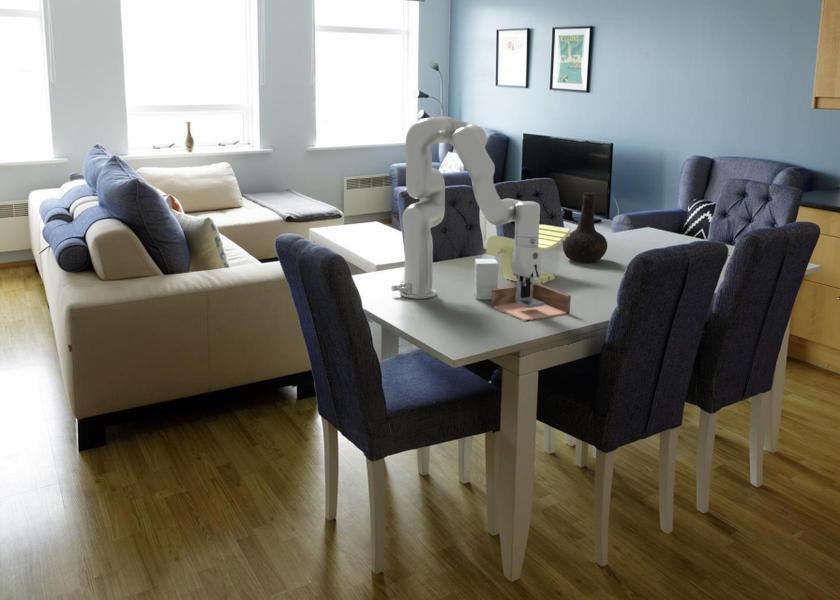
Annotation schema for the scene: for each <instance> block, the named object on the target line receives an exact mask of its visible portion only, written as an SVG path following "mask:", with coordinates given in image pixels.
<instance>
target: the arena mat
mask: <svg viewBox="0 0 840 600" xmlns="http://www.w3.org/2000/svg"><path fill="white" fill-rule="evenodd" d="M493 307H494V308H493ZM491 308H493V309H495V308H496V310H497V309H499V310H498V311H500V310H501V311H500V312H502V311H503V312H502V313H504V312H505V313H504V314H506V313H507V315H508V314H510V315H509V316H511V315H512V316H511V317H513V316H514V317H513V318H515V317H516V319H517V318H519V319H518V320H520V319H521V320H520V321H522V320H523V321H522V322H528V321H527V320H530V321H534V320H533V319H536V320H541V319H546V317H547V318H553V317H557V316H558V317H559V316H563V315H564V316H566V315H567V314H566V312H563V311H561V310H558V309H556V308H554V307H551V306H549V305H546V304H544V306H539V307H533V308H527V307H525V306H522V305H520V304H517V303H511V304H504V305H498V306H492V307H491ZM540 318H541V319H540Z"/></svg>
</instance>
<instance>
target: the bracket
mask: <svg viewBox="0 0 840 600" xmlns="http://www.w3.org/2000/svg"><path fill="white" fill-rule="evenodd" d="M515 286H516V301H515V303H517V304H520V305H522V306H525V307H527V308H533V307H539V306H544V303H543V302H541V301H538V300H536V299H533V283H532V285H530V297H527V298H521V289H522V286H523V281H517V282H516V281H515Z"/></svg>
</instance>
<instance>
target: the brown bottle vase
mask: <svg viewBox="0 0 840 600" xmlns="http://www.w3.org/2000/svg"><path fill="white" fill-rule="evenodd" d="M595 200H597V197H596V193H595V192H591V191H587V192H583V195H582V206H581V213H580V217H579V222H578V223H577V227H576V228H575V230H573V231H570V236H569V237H566V240H562V243H561V244H562V251H563V253H564V255H565V256H566V258H568V259H569V260H570V261H572V262H575V263H580V264H581V263H582V264H593V263H597V262H598V261H599V260H601V259H602V258H603V257H604V256H605V254H606V253H607V251H608V241H607V238H606V237H605V236H604V235H603V234H601V233H600V232H599V231H597V230H596V227H595Z"/></svg>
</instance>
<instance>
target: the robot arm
mask: <svg viewBox="0 0 840 600" xmlns="http://www.w3.org/2000/svg"><path fill="white" fill-rule="evenodd" d="M405 137H406V138H405V150H406V151H405V154H406V158H405V160H406V161H405V162H406V163H405V168H406V169H405V173H406V174H405V188H406V192H407V194H408V196H409V197H411V198H413V199H416V200H418V199H419V201H417V202H415V203H411V204H409V206H406V208H405V209H404V212H403V214H402V219H401V220H402V221H401V222H402V228H403V235H404V237H403V238H404V280H402V281H401V283H400V284H394V285H391V291H392V292H397V291H398V292H399V295H400V296H401V297H405V298H408V299H417V300H418V299H419V300H420V299H429V298H433V297H435V296H437V289H435V288H433V261H434V260H433V258H434V257H433V255H434V249H433V248H434V247H433V245H434V244H433V236H432V231H431V229H433V227H436V226H438V225H440V224H441V223H442V221H443V220H444V218H445V210H446V209H445V208H446V207H445V205H446V184H445V178H444V175H443V174H442V173H441V171H440V170H439V169H438V168H435V167H433V155H432V151H431V146H433V145H435V144H443V143H445V144H449V145H451V146H452V148H453V150H454V151H455V153H456V155H457V157H458V158H459V160H460V162H461V163H462V165H463V167H464V169H465V170H466V172H467V174H468V176H469V177H470V180H471V186H472V191H473V196H474V198H475V201H476V204H477V206H478V207H479V210H480V211H481V212H482V214H483V216H484V218H485V219H486V220H487V221H488V223H490V224H491V225H493V226H496V227H497V226H498V227H499V226H503V225H506V224H509V223H512V222H514V239H515V244H514V248H513V255H512V271H513V272H514V273H513V274H514V276H516V277H517V279H518V281H523V286H522V289H521V298H527V297H530V285H532V283H533V282H537V277H539V276H540V275H541V272H542V261H541V260H542V257H541V256H542V255H541V254H542V253H541V252H540V248H539V246H538V242H539V225H540V221H541V220H540V219H541V217H540V215H541V205H540V204H539V203H538V202H536V201H533V200H525V201H524V200H520V199H514V198H503V199H501V198H500V196H499V194H498V192H497V190H496V188H495V185H494V175H495V171H496V170H495V168H496V167H495V163H494V162H493V160H492V158H491V156H490V155H489V153H488V151H487V149H486V148H485V147H486V144H487V142H488V137H487V133H486V132H485V130H484V129H483V128H482V127H481V126H478V125H477V124H474V123H470V122H466V121H463V120H460V119H458V118H454V117H451V116H445V115H444V116H442V115H441V116H431V117H425V118H422V119H420V120H418V121H416V122H415V123H413V124H412V125H411V126H410V127H409V129H408V131H407V133H406V136H405Z"/></svg>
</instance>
